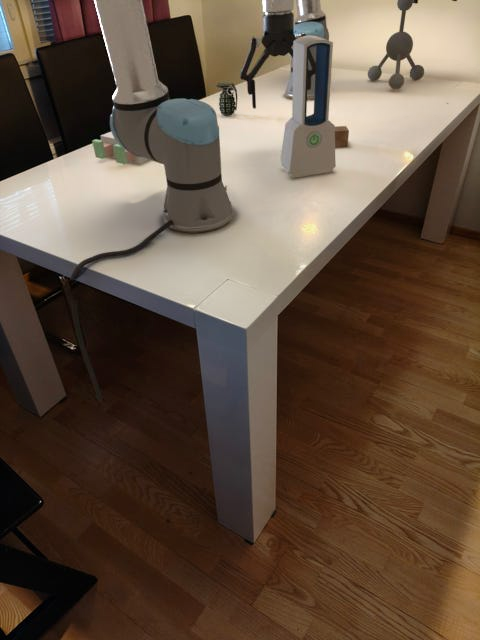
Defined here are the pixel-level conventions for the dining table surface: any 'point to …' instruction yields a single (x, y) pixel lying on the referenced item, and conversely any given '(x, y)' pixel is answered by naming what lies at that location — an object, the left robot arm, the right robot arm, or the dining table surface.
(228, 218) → the left robot arm
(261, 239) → the dining table surface
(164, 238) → the dining table surface
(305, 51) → the electronic device
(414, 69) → the molecular model
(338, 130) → the block
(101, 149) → the decorative block
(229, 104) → the grenade
